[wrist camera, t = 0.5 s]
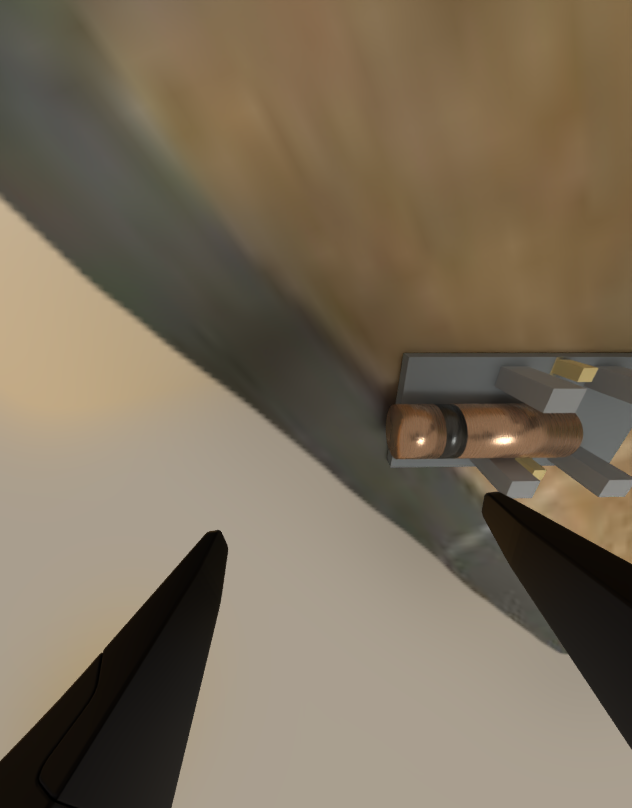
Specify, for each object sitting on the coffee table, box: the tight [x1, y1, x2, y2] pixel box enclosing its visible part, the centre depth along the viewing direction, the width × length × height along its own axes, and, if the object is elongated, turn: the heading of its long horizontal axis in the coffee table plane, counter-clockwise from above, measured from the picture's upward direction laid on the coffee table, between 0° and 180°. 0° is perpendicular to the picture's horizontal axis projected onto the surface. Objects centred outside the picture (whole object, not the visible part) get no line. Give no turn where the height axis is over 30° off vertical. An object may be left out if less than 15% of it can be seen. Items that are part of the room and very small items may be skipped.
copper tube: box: [386, 403, 583, 459], centre depth 19 cm, size 12×4×4 cm, turn 90°
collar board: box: [387, 353, 632, 498], centre depth 19 cm, size 20×10×6 cm, turn 90°
